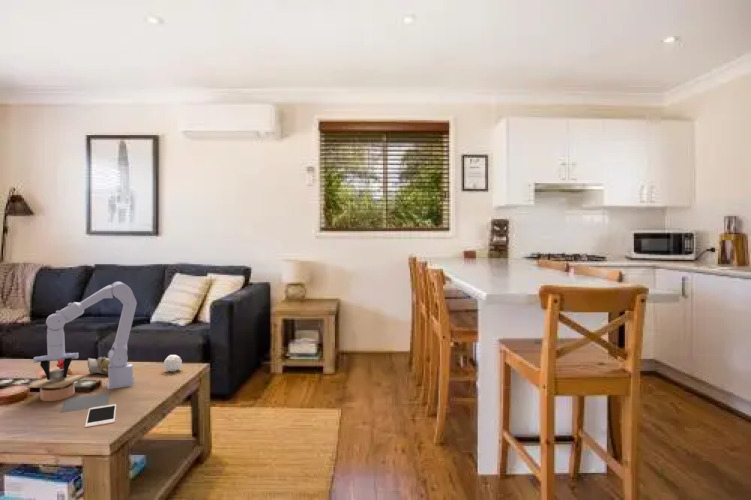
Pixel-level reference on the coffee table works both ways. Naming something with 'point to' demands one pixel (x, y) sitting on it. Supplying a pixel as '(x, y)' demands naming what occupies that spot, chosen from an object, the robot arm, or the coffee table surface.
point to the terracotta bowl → (57, 393)
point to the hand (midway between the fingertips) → (57, 378)
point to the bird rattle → (61, 364)
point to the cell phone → (101, 415)
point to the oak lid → (56, 380)
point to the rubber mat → (85, 402)
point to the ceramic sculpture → (98, 365)
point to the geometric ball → (172, 363)
